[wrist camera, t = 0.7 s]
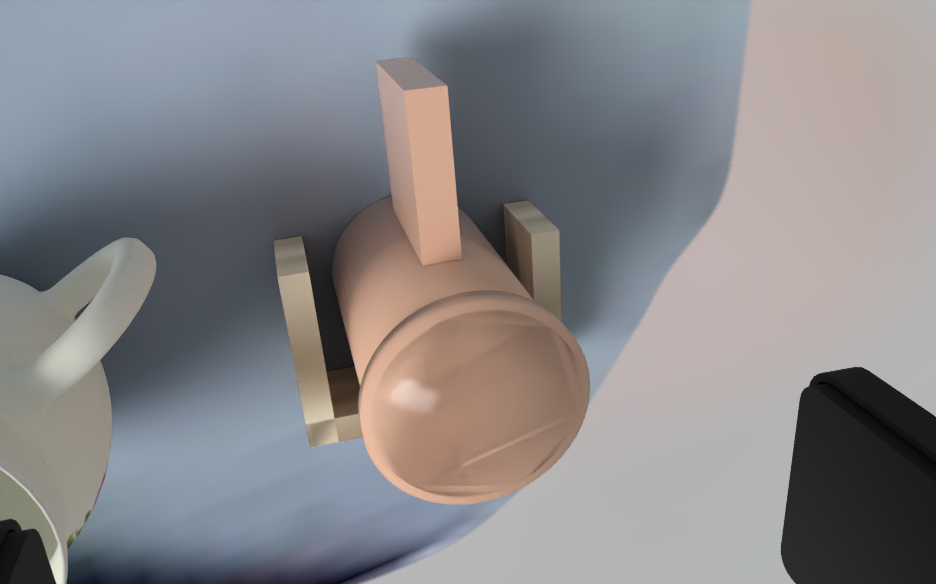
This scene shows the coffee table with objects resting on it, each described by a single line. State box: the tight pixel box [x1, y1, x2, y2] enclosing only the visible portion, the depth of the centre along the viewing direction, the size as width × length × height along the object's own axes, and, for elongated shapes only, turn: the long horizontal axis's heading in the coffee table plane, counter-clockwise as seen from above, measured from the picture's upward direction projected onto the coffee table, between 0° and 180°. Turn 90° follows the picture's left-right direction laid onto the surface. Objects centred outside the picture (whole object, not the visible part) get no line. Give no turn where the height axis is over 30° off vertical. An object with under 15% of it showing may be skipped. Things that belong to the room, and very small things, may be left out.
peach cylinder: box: [332, 57, 590, 505], centre depth 30 cm, size 13×8×12 cm, turn 4°
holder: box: [274, 200, 562, 448], centre depth 36 cm, size 8×11×4 cm
